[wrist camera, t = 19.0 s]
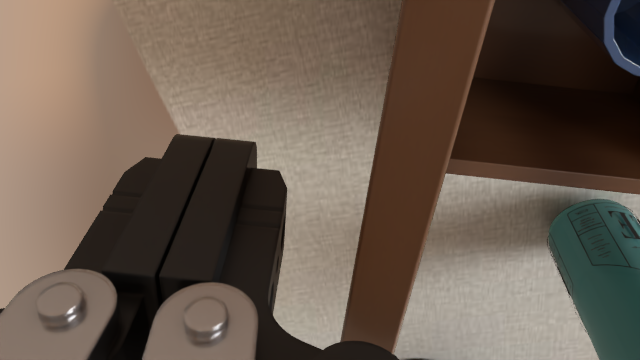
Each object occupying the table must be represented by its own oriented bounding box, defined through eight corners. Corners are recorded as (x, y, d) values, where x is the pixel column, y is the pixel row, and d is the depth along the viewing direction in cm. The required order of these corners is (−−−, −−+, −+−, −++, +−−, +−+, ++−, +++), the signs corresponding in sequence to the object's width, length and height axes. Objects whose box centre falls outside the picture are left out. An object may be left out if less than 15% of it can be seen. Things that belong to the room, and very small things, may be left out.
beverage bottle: (527, 242, 43) (629, 512, 26) (557, 177, 39) (697, 447, 22) (606, 251, 43) (756, 526, 26) (644, 187, 39) (847, 464, 23)
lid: (715, -766, 2) (537, -754, 3) (334, 560, 12) (302, 548, 13) (531, -277, 15) (503, -279, 16) (418, 176, 25) (402, 173, 26)
